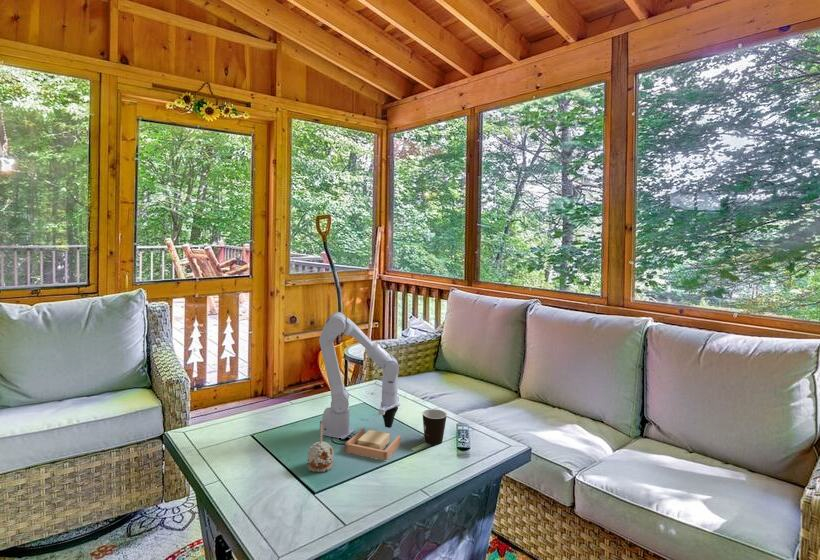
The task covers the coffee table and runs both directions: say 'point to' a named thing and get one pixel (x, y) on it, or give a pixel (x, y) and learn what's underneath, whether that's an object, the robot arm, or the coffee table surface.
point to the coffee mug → (434, 426)
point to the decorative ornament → (320, 455)
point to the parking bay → (370, 452)
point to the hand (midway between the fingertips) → (388, 426)
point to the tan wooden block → (374, 439)
